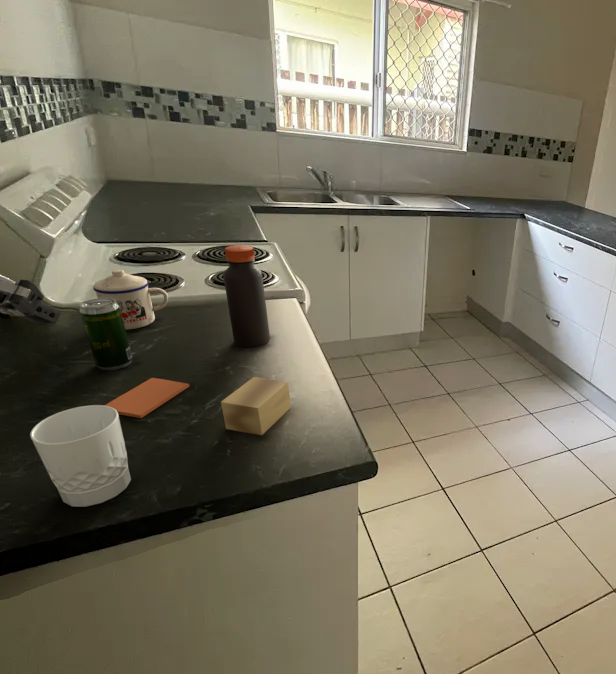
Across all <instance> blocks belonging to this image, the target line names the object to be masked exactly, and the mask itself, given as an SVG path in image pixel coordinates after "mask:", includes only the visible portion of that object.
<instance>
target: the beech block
mask: <svg viewBox="0 0 616 674" xmlns="http://www.w3.org/2000/svg"><path fill="white" fill-rule="evenodd" d="M220 405H221V410H222V415H223V420H224V426H225V429H226V430H229V431H236V432H241V433H247V434H252V435H258V436H263V435H264V434H265V433H266V432H267V431H268V430H270V429H271V427H272V426H274V424H276V423H277V422H278V421H279V420H280V419H281V418H282V417H283V416H284V415H286V413H287V412H289V410H290V409H291V408H292V405H291V396H290V388H289V382H288V381H283V380H277V379H270V378H264V377H259V376H253V377H252V378H251V379H249V380H248V381H246V382H245V383H244V384H242V385H241V386H240V387H239V388H237V389H236V390H234V391H233V392H232V393H231V394H229V395H227V397H225V398H224V399H222V401H220Z"/></svg>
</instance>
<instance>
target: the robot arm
mask: <svg viewBox="0 0 616 674" xmlns="http://www.w3.org/2000/svg"><path fill="white" fill-rule="evenodd" d="M44 298H45V295H43V293H42V291H40V289H39V287H38V286H37V285H36V284H35V283H34V282H32V281H30V280H28V279H19V280H16V281H14V280H12V279H10V278H8V277H6V276H4V275H2V274H0V313H1V314H4V315H13V316H16V317H19V318H21V319H23V320H27V321H29V322H32V323H34V324H36V325H39V326H46V327H54V326H55V325H56V323H57V322H58V320H59V317H60V316H61V311H60V309H58V308H56V307H54V306H51V305H49V304H47V303H45V302H43V300H44Z"/></svg>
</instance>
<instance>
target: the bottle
mask: <svg viewBox="0 0 616 674" xmlns="http://www.w3.org/2000/svg"><path fill="white" fill-rule="evenodd" d="M224 253H225V254H224V255H225V260H226V263H228V267H227V268H226V269H225V270H224V272H223V274H222V277H223V282H224V288H225V294H226V300H227V308H228V313H229V319H230V326H231V332H232V337H233V338H232V339H233V343H234V344H235V345H236V346H239V347H242V348H256V347H260V346H264V345H265V344H268V343H269V341H270V340H271V334H270V327H269V325H270V324H269V318H268V311H267V302H266V295H265V287H264V280H263V279H264V278H263V272H262V270H261V269H259V268H258V267H257V266H256V265H255V264H254V262H256V260H255V250H254V247H253V246H251V245H247V244H246V245H245V244H234V245H229V246H226V247H224Z"/></svg>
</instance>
